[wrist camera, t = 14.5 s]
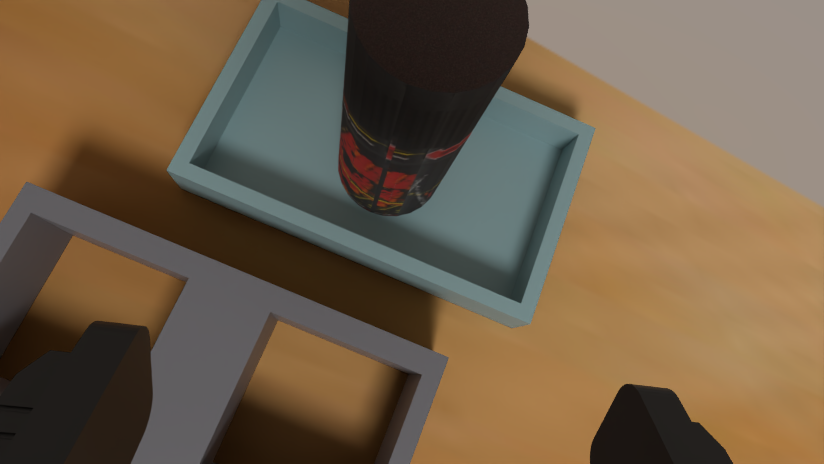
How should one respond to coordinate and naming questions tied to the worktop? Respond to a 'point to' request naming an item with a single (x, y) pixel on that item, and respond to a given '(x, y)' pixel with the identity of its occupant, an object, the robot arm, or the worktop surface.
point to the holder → (201, 329)
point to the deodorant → (418, 91)
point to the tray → (342, 217)
